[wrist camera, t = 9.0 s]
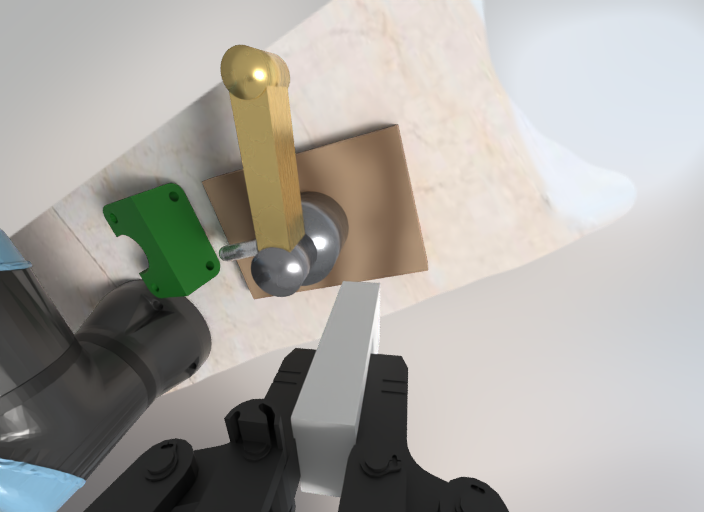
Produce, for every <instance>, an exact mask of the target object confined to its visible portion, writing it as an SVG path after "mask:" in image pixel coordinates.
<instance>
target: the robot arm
mask: <svg viewBox="0 0 704 512" xmlns="http://www.w3.org/2000/svg"><path fill="white" fill-rule="evenodd" d="M30 267H32V264H31V262H29V261H26V260H25V259H24V257H23V256H22V255H21V253H20V252H19V251H18V249H17V248H16V247H15V245H14V244H13V243H12V241H11V240H10V239H9V237H8V236H7V235H6V234H5V232H4V231H3V230H1V229H0V512H56V511H57V510H58V509H59V508H60V507H61V506H62V505H63V504H64V503H65V502H66V501H67V500H68V499H69V498H70V497H71V496H72V495H73V494H74V492H76V491H77V490H78V489H79V488H81V487H82V486H83V485H84V484H85V482H86V479H87V478H88V477H89V476H90V475H91V474H92V472H93V471H94V470H95V469H96V468H97V467H98V465H99V464H100V463H101V462H102V461H103V460H104V458H105V457H106V456H107V455H108V454H109V453H110V451H111V450H112V449H113V448H114V447H115V446H116V444H117V443H118V442H119V441H120V440H121V438H122V437H123V436H124V435H125V434H126V432H127V431H128V430H129V429H130V428H131V427H132V426H133V424H134V423H135V422H136V421H137V420H138V419H139V418H140V416H141V415H142V414H143V413H144V412H145V410H146V409H147V408H148V407H149V406H150V404H151V403H152V402H153V401H154V400H155V399H156V398H158V397H159V396H161V395H162V394H164V393H166V392H167V391H169V390H170V389H172V388H173V387H175V386H177V385H178V384H180V383H181V382H183V381H185V380H186V379H188V378H189V377H191V376H192V375H193V374H195V373H196V372H197V371H198V369H199V368H200V367H201V366H202V364H203V363H204V362H205V361H206V359H207V358H208V356H209V354H210V350H211V335H210V331H209V328H208V326H207V324H206V322H205V320H204V318H203V317H202V315H201V314H200V312H199V311H198V310H197V308H196V307H195V306H194V305H193V304H192V303H191V302H190V301H189V300H187V299H186V298H185V297H184V296H183V297H169V298H158V297H156V296H155V295H153V294H152V293H151V292H150V290H149V289H148V287H147V286H146V284H145V283H144V281H143V280H136V281H130V282H127V283H124V284H122V285H121V286H119V287H118V288H116V289H114V290H113V291H111V292H110V293H108V294H107V295H106V296H105V297H104V298H103V299H102V300H101V301H100V302H99V304H98V305H97V306H96V308H95V309H94V310H93V312H92V313H91V314H90V315H89V317H88V318H87V319H86V321H85V322H84V323H83V325H82V326H81V327H80V329H79V330H78V331H77V333H76V334H73V332H72V331H71V330H70V328H69V327H68V325H67V324H66V322H65V321H64V319H63V318H62V316H61V315H60V313H59V312H58V310H57V309H56V307H55V305H54V304H53V302H52V301H51V299H50V298H49V296H48V294H47V293H46V291H45V290H44V288H43V287H42V285H41V284H40V282H39V280H38V279H37V277H36V276H35V274H34V273H33V271H32V270H31V268H30ZM379 341H380V283H370V282H351V281H343V282H342V285H341V288H340V290H339V293H338V295H337V298H336V301H335V303H334V306H333V308H332V311H331V314H330V316H329V319H328V322H327V324H326V327H325V329H324V332H323V335H322V337H321V340H320V342H319V345H318V348H317V350H313V349H301V348H295V349H294V350H293V351H292V352H291V353H290V354H288V355H287V356H286V357H285V358H284V360H283V362H282V364H281V366H280V368H279V370H278V373H277V374H276V376H275V378H274V380H273V383H272V384H271V386H270V388H269V391H268V392H267V394H266V396H265V398H264V399H252V400H249V401H246V402H243V403H241V404H239V405H238V406H236V407H235V408H233V409H232V410H231V411H230V412H229V413H228V415H227V416H226V417H225V418H224V419H225V423H226V427H227V431H228V434H229V438H230V442H229V443H227V444H225V445H221V446H216V447H211V448H206V449H200V450H195V451H193V449H192V446H191V445H190V444H189V443H188V442H187V441H186V440H182V439H176V438H175V439H170V440H165V441H162V442H161V443H158V444H156V445H154V446H152V447H151V448H150V449H149V450H147V451H146V452H145V453H143V454H142V455H141V456H140V457H139V458H138V459H137V460H136V461H135V462H134V463H133V464H132V465H131V466H130V467H129V468H128V469H127V470H126V471H125V472H124V473H122V474H121V475H120V476H119V478H117V479H116V480H115V481H114V482H113V483H112V484H111V485H110V487H108V488H107V489H106V490H105V491H104V492H103V493H102V494H101V495H100V496H99V497H98V498H97V499H96V500H95V501H94V502H93V503H92V504H91V505H90V506H89V507H88V508H87V509H86V510H85V511H84V512H295V507H296V506H295V499H294V498H295V494H296V491H297V487H298V484H299V481H300V485H301V491H303V492H309V493H316V494H322V495H329V496H335V497H341V498H340V504H339V510H338V512H509V511H508V509H507V507H506V505H505V504H504V502H503V500H502V499H501V497H500V496H499V494H498V493H497V492H496V491H494V490H493V489H492V488H491V487H490V486H489V485H488V484H486V483H484V482H482V481H480V480H477V479H475V478H469V477H459V478H456V479H453V480H450V482H449V483H448V482H446V481H444V480H442V479H440V478H438V477H436V476H434V475H432V474H430V473H428V472H427V471H425V470H423V469H422V468H421V467H420V466H419V465H418V464H417V463H416V462H415V461H414V459H413V458H412V456H411V454H410V452H409V449H408V447H407V394H408V367H407V365H406V364H405V362H404V360H403V358H402V356H395V355H394V356H393V355H383V354H378V348H379Z"/></svg>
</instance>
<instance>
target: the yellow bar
mask: <svg viewBox="0 0 704 512" xmlns="http://www.w3.org/2000/svg"><path fill="white" fill-rule="evenodd" d="M221 76H222V80H223V82H224V85H225V86H226V88H227V89H228V91H229V94H230V99H231V105H232V110H233V116H234V121H235V126H236V132H237V137H238V143H239V148H240V154H241V159H242V164H243V170H244V175H245V181H246V186H247V192H248V197H249V202H250V208H251V213H252V219H253V224H254V230H255V235H256V240H257V246H258V251H259V252H258V253H257V254H256V255H255V256H254V258H253V260H252V262H251V274H252V277H253V279H254V281H255V283H256V284H257V285H258V286H259V287H260V288H261V289H262V290H263V291H264V292H266V293H268V294H270V295H273V296H277V297H286V296H290V295H292V294H294V293H295V292H297V291H298V289H299V288H300V286H301V285H302V283H303V282H304V280H305V278H306V277H307V275H308V274H309V272H310V270H311V269H312V267H313V265H314V264H315V262H316V259H317V248H316V246H315V243H314V242H313V240H312V239H311V238H310V237H309V236H308V235H307V234H305V230H304V222H303V214H302V205H301V197H300V189H299V180H298V172H297V163H296V155H295V147H294V138H293V130H292V122H291V113H290V105H289V97H288V87H289V83H290V74H289V70H288V67H287V65H286V63H285V62H284V61H283V59H282V58H280V57H279V56H278V55H276V54H273V53H269V52H266V51H263V50H259V49H256V48H252V47H249V46H246V45H235V46H233V47H231V48H230V49H228V50H227V51H226V53H225V54H224V56H223V58H222V61H221Z"/></svg>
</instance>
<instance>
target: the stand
mask: <svg viewBox="0 0 704 512" xmlns="http://www.w3.org/2000/svg"><path fill="white" fill-rule="evenodd" d="M295 155H296V163H297V172H298V180H299V189H300V193H303V192H319V193H323V194H326V195H328V196H330V197H331V198H333V199H334V200H335V201H336V202H338V204H339V205H340V206H341V207H342V208H343V210H344V212H345V214H346V216H347V219H348V224H349V232H348V237H347V240H346V242H345V244H344V246H343V248H342V250H341V252H340V254H339V256H338V258H337V260H336V262H335V264H334V266H333V268H332V270H331V271H330V273H329V274H328V275H327V276H326V277H325V278H324V279H323V280H321V281H320V282H318V283H315V284H313V285H308V286H300V288H299V289H298V291H297V292H301V291H307V290H313V289H319V288H325V287H331V286H337V285H342V282H343V281H351V282H361V281H367V280H373V279H379V278H385V277H391V276H397V275H403V274H409V273H415V272H421V271H427V270H428V261H427V257H426V252H425V247H424V243H423V238H422V233H421V229H420V224H419V219H418V215H417V210H416V205H415V201H414V196H413V191H412V187H411V182H410V177H409V173H408V168H407V164H406V159H405V154H404V150H403V145H402V140H401V136H400V131H399V126H398V125H394V126H391V127H387V128H384V129H380V130H377V131H373V132H370V133H366V134H363V135H359V136H356V137H352V138H349V139H345V140H342V141H338V142H335V143H331V144H328V145H324V146H321V147H317V148H314V149H310V150H307V151H303V152H300V153H296V154H295ZM202 184H203V186H204V188H205V190H206V193H207V195H208V197H209V199H210V202H211V204H212V206H213V208H214V211H215V213H216V215H217V217H218V220H219V222H220V224H221V226H222V229H223V231H224V233H225V235H226V238H227V240H228V242H229V244H230V245H231V244H235V243H240V242H244V241H249V240H253V239H256V235H255V230H254V224H253V219H252V213H251V208H250V202H249V197H248V192H247V186H246V181H245V175H244V170H243V169H241V170H237V171H234V172H230V173H227V174H223V175H220V176H216V177H213V178H210V179H207V180H205V181H202ZM253 258H254V256H253V257H248V258H243V259H238V260H237V262H238V265H239V267H240V269H241V271H242V274H243V276H244V278H245V280H246V283H247V285H248V287H249V289H250V292H251V294H252V296H253V298H254V299H259V298H265V297H271V296H273V295H270V294H268V293H266V292H264V291H263V290H262V289H261V288H260V287H259V286H258V285H257V284H256V283H255V281H254V279H253V277H252V274H251V262H252V260H253Z"/></svg>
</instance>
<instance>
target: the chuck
mask: <svg viewBox="0 0 704 512" xmlns="http://www.w3.org/2000/svg"><path fill="white" fill-rule="evenodd" d="M300 197H301V205H302V214H303V222H304V230H305V234H307V235H308V236H309V237H310V238H311V239H312V240H313V242H314V243H315V246H316V248H317V259H316V262H315V264H314V265H313V267H312V269H311V270H310V272H309V274H308V275H307V277H306V278H305V280H304V282H303V283H302V285H301V286H308V285H313V284H315V283H318V282H320V281H321V280H323V279H324V278H325V277H326V276H327V275H328V274H329V273H330V271H331V270H332V268H333V266H334V264H335V262H336V260H337V258H338V256H339V254H340V252H341V250H342V248H343V246H344V244H345V242H346V240H347V237H348V232H349V224H348V219H347V216H346V214H345V212H344V210H343V208H342V207H341V206H340V205H339V204H338V202H336V201H335V200H334V199H333V198H331V197H330V196H328V195H326V194H323V193H319V192H303V193H300ZM258 252H259V251H258V246H257V240H256V239H253V240H249V241H244V242H240V243H235V244H231V245H226V246H223V247H222V248H221V249H220V251H219V256H220V258H221V259H222V260H223V261H227V262H228V261H234V260H238V259H243V258H248V257H253V256H255V255H256V254H257V253H258Z"/></svg>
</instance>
